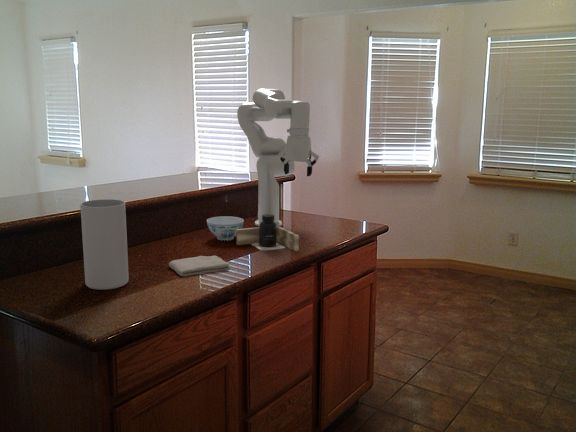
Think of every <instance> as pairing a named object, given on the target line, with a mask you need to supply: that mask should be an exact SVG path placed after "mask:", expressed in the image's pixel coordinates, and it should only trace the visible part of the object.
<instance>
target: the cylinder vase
mask: <svg viewBox="0 0 576 432" xmlns="http://www.w3.org/2000/svg"><path fill="white" fill-rule="evenodd" d="M126 210H127V209H126V201H125V200H120V199H111V198H110V199H109V198H107V199H106V198H105V199H92V200H86V201H82V202H80V218H81V219H80V220H81V233H82V234H81V235H82V237H81V238H82V251H83V252H82V253H83V269H84V270H83V271H84V283H85V286H86V287H88V288H89V289H92V290H98V291H101V290H102V291H105V290H113V289H114V290H115V289H118V288H121V287H124V286H125V285H127V284H128V282H129V258H128V257H129V256H128V255H129V254H128V237H127V236H128V235H127V216H126V215H127V213H126Z"/></svg>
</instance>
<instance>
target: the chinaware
mask: <svg viewBox="0 0 576 432" xmlns="http://www.w3.org/2000/svg"><path fill="white" fill-rule="evenodd" d="M244 223H245V220H244V219H243V218H241V217H238V216H227V215H225V216H223V215H221V216H213V217H210V218H207V219H206V224H207V227H208V229H209V232H211V234H212V235H213V236H215V237H216V239H217V240H218V241H223V240H224V241H225V240H226V242H227V241H232V240H234V237H237V229H243V225H244ZM224 241H223V242H224Z"/></svg>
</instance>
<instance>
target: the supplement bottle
mask: <svg viewBox="0 0 576 432" xmlns="http://www.w3.org/2000/svg"><path fill="white" fill-rule="evenodd" d="M274 217H275V216H274V215H271V214H264V215H262V220H263V221H262V222H260V224H259V226H258V227H259V245H260V246H262V247H274V246H275V245H276V242H277V241H276V235H277V224H276V223H275V222H274V220H275V219H274Z"/></svg>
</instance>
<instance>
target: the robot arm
mask: <svg viewBox="0 0 576 432" xmlns="http://www.w3.org/2000/svg"><path fill="white" fill-rule="evenodd" d="M252 101H253V102H244V103H241V104H240V105H239V106H238V108H237V113H236V115H237V120H238V121H237V122H238V124H239V126H240V129H241V130H242V131H243V133H244V135H245V136H246V139H247V140H248V143H249V145H250V148H251V151H252V153H253V154H254V156H255V157H256V158H258V159H257V160H256V164H255V166H256V171H257V180H258V184H257V185H258V194H257V195H258V196H257V197H258V203H257V207H258V208H257V209H258V210H257V219H256V220H255V221H254V225H255V226H256V227H259V224H260V222H262V221H263V220H262V215H264V214H271V215H274V216H275V217H274V219H275V220H274V222H275V223H276V224H277V225H278V226H280V227H282V226H283V221H282V220H280V184H279V182H278V181H277V180H276V179H277V178H276V177H287V176H291V175H292V174H293V173H294V172H295V167H296V166H295V162H300V163H301V162H302V163H306V164H307V169H306V177H310V176H312V174H313V166H314V165H316V164H317V162H318V160H319V159H320V155H318V154H317V153H315V152H313V151H312V141H311V136H310V111H311V110H310V109H311V104H310V102H308V101H301V100H297V99H286V95H285V93H284V91H282V90H280V89H278V88H275V89H274V88H259V89H257V90H255V91H254V92H253V94H252ZM274 119H276V120H279V119H281V120H282V119H283V120H284V119H285V120H286V119H289V120H290V122H289V125H290V126H289V128H288V129H287V128H286V132H287V133H289V135H287V138H286V141H285V140H284V139H283V138H281V137H278V136H277V137H276V136H275V137H274V136H273V137H271V136H270V137H269V136H267V134H266V132H265V129H264V128H263V127H262V126H261V125H259V124H258V123H257V122H270V121H272V120H274ZM312 157H313V160H312Z"/></svg>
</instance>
